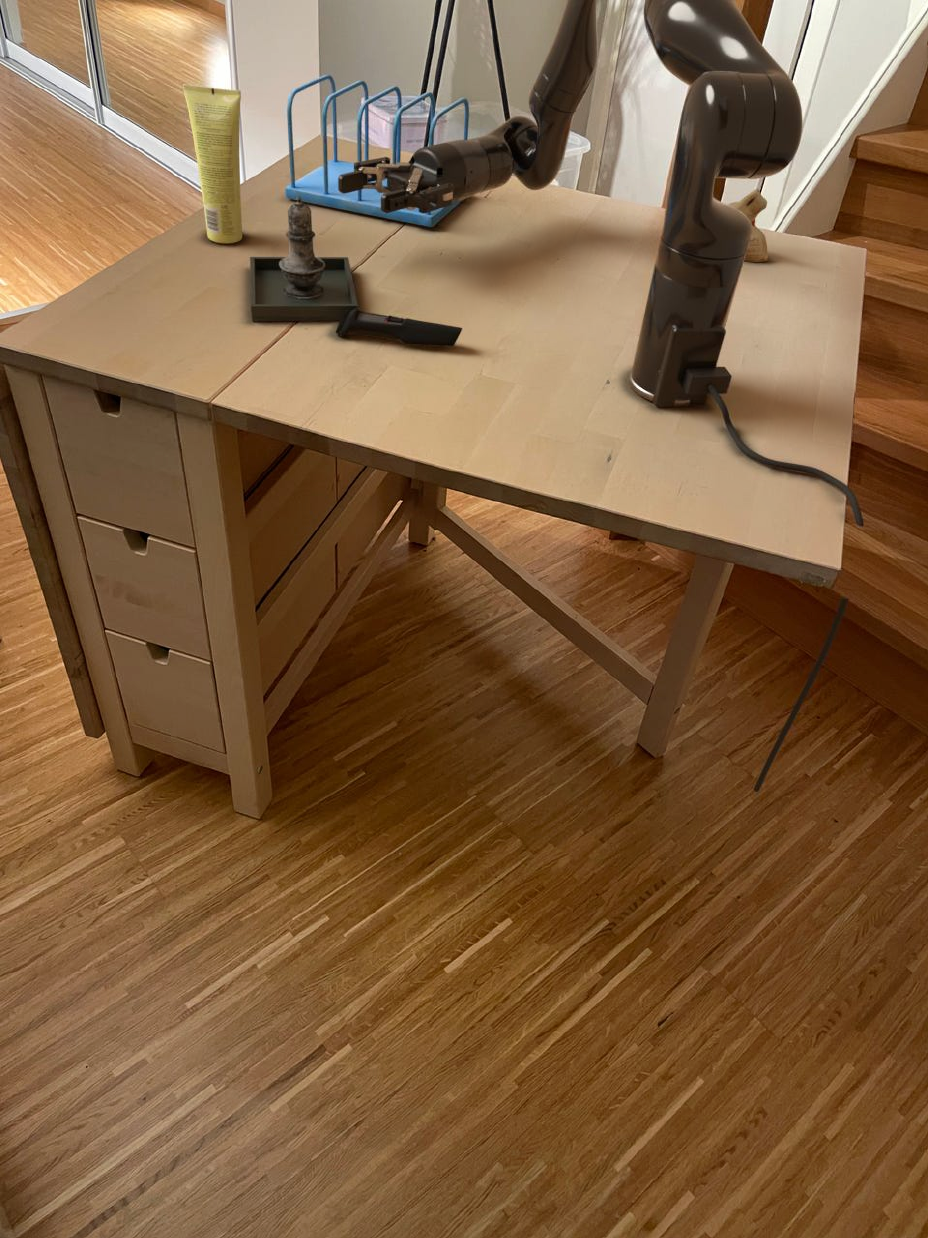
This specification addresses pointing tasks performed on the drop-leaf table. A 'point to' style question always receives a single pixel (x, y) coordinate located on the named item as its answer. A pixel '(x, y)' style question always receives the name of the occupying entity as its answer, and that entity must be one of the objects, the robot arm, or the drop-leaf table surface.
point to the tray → (280, 307)
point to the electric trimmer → (397, 329)
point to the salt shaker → (301, 255)
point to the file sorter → (360, 159)
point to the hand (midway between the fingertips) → (360, 194)
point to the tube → (217, 157)
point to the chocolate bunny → (751, 209)
